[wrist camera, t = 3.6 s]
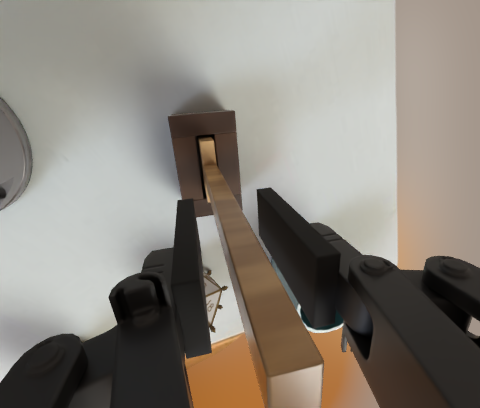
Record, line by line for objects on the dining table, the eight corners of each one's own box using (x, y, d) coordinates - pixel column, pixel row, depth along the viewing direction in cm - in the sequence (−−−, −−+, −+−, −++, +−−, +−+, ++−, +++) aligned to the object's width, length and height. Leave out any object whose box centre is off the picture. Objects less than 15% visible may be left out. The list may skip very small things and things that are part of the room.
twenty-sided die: (203, 265, 39) (245, 317, 34) (155, 302, 36) (193, 364, 31) (191, 236, 32) (240, 295, 27) (130, 278, 29) (173, 354, 24)
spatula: (213, 181, 30) (318, 461, 6) (203, 182, 30) (272, 477, 6) (207, 132, 28) (333, 276, 4) (196, 133, 28) (262, 291, 4)
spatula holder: (232, 193, 32) (242, 210, 27) (185, 199, 31) (185, 219, 26) (225, 110, 28) (234, 110, 23) (171, 114, 27) (167, 116, 22)
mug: (260, 257, 36) (283, 304, 28) (308, 223, 36) (347, 259, 27) (296, 303, 41) (326, 355, 32) (340, 273, 41) (382, 318, 32)
